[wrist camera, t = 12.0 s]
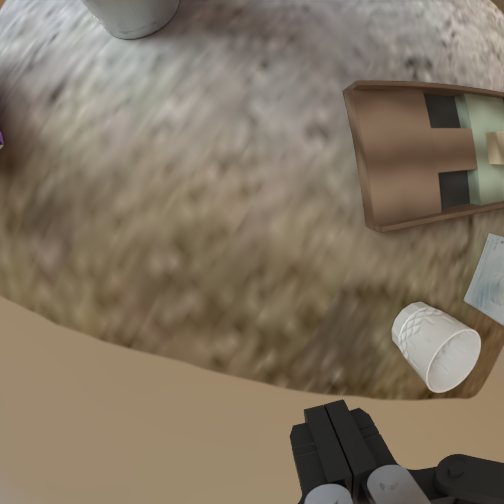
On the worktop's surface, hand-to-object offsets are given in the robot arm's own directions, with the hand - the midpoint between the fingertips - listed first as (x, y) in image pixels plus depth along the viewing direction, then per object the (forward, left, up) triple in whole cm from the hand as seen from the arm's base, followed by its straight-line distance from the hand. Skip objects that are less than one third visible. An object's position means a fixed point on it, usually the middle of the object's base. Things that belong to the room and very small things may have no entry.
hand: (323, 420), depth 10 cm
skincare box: (+8, +32, -23) cm, 40 cm away
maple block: (-9, +32, -20) cm, 39 cm away
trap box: (-10, +24, -23) cm, 35 cm away
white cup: (+12, +18, -23) cm, 32 cm away
